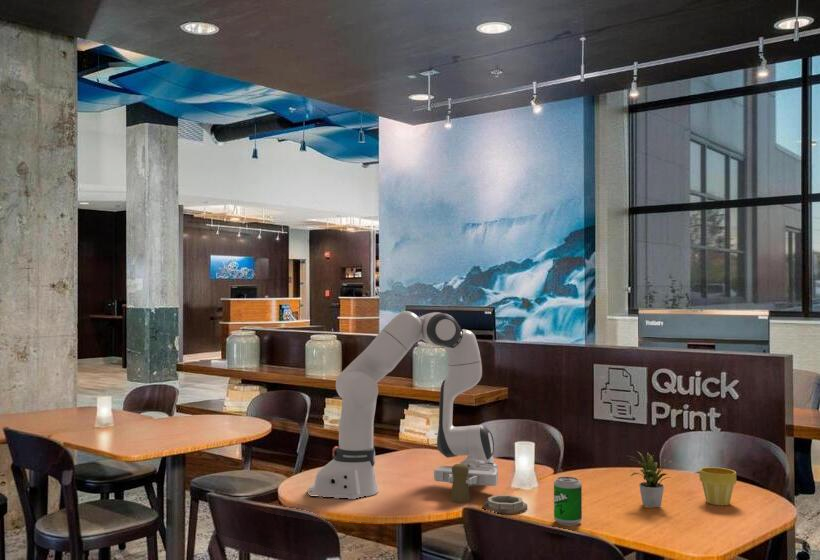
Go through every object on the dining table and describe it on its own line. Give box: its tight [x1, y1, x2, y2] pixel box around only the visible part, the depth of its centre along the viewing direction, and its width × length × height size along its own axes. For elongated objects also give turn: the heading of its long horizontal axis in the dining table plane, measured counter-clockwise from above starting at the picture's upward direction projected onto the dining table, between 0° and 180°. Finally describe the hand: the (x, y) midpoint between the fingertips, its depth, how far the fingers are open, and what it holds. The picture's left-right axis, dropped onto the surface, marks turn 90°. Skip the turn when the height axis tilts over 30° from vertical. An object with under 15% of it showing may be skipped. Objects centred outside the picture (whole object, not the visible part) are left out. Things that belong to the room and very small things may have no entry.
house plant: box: [625, 451, 674, 508], centre depth 229 cm, size 14×14×16 cm
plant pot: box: [698, 466, 737, 507], centre depth 231 cm, size 10×10×10 cm
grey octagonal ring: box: [482, 494, 528, 515], centre depth 225 cm, size 13×13×2 cm
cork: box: [450, 463, 471, 504], centre depth 234 cm, size 6×6×11 cm
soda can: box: [553, 476, 583, 527], centre depth 211 cm, size 8×8×12 cm
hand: (459, 481), depth 233 cm, fingers closed on cork, 4 cm apart
